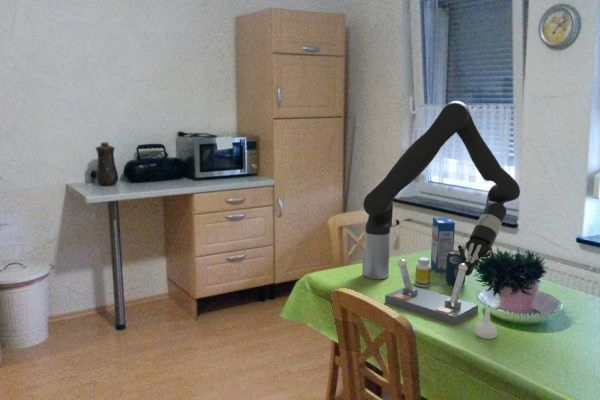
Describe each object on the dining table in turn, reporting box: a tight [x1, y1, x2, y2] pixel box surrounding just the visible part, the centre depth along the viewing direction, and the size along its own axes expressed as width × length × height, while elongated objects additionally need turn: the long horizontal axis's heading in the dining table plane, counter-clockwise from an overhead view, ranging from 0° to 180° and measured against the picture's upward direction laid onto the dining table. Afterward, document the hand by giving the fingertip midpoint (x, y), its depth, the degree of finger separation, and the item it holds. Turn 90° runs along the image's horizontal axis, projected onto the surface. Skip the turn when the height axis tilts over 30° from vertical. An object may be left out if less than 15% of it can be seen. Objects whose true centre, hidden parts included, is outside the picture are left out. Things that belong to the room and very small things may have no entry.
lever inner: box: [397, 259, 413, 293], centre depth 182 cm, size 3×3×13 cm
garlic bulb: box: [474, 308, 498, 340], centre depth 159 cm, size 6×6×8 cm
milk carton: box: [430, 217, 456, 274], centre depth 218 cm, size 10×6×20 cm, turn 179°
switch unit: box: [384, 285, 479, 326], centre depth 180 cm, size 26×14×4 cm, turn 45°
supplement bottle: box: [414, 256, 432, 288], centre depth 201 cm, size 5×5×10 cm
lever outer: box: [450, 263, 468, 304], centre depth 175 cm, size 3×3×13 cm
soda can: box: [445, 249, 466, 287], centre depth 201 cm, size 7×7×12 cm
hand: (465, 274), depth 178 cm, fingers closed
